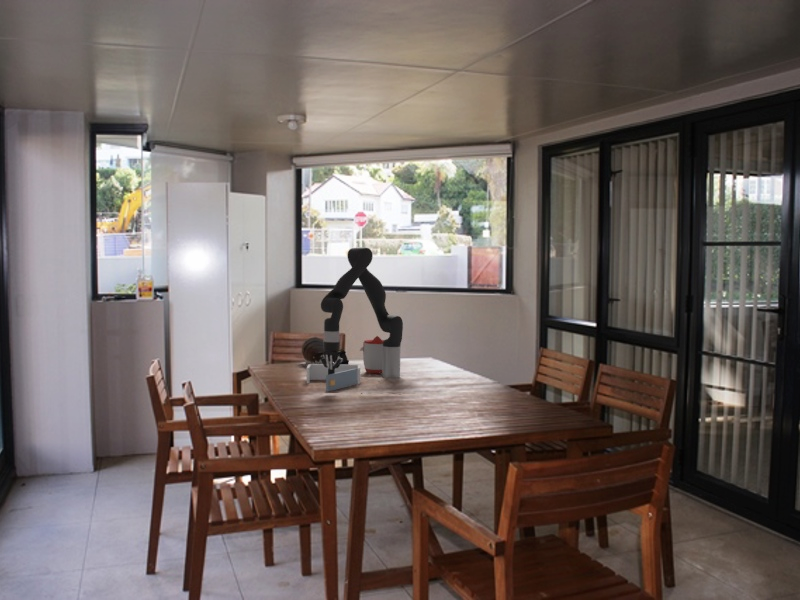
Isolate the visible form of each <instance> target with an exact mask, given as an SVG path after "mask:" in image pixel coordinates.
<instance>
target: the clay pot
mask: <svg viewBox="0 0 800 600" xmlns="http://www.w3.org/2000/svg"><path fill="white" fill-rule="evenodd" d="M323 353H324V339H322V338H319V337H316V336H315V337H310V338H308V339H306V340H304V342H303V344H302V347H301V355H302V358H303V359H304V362H305V364H306V365H308V364H323V363H322V361H321V360H320V356H322V355H324V354H323Z"/></svg>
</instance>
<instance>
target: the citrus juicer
mask: <svg viewBox="0 0 800 600" xmlns="http://www.w3.org/2000/svg"><path fill="white" fill-rule="evenodd" d="M384 340H385V339H381V337H380V336H378V335H376V336H375V337H373V339H366V340H363V341H364V342H363V345H362V347H361V348H360V349H359V352H361V351H362V356H363V358H362V360H363V367H364V370H365V372H366V373H368V374H370V373H372V374H380V373H382V362H383V341H384Z"/></svg>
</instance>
